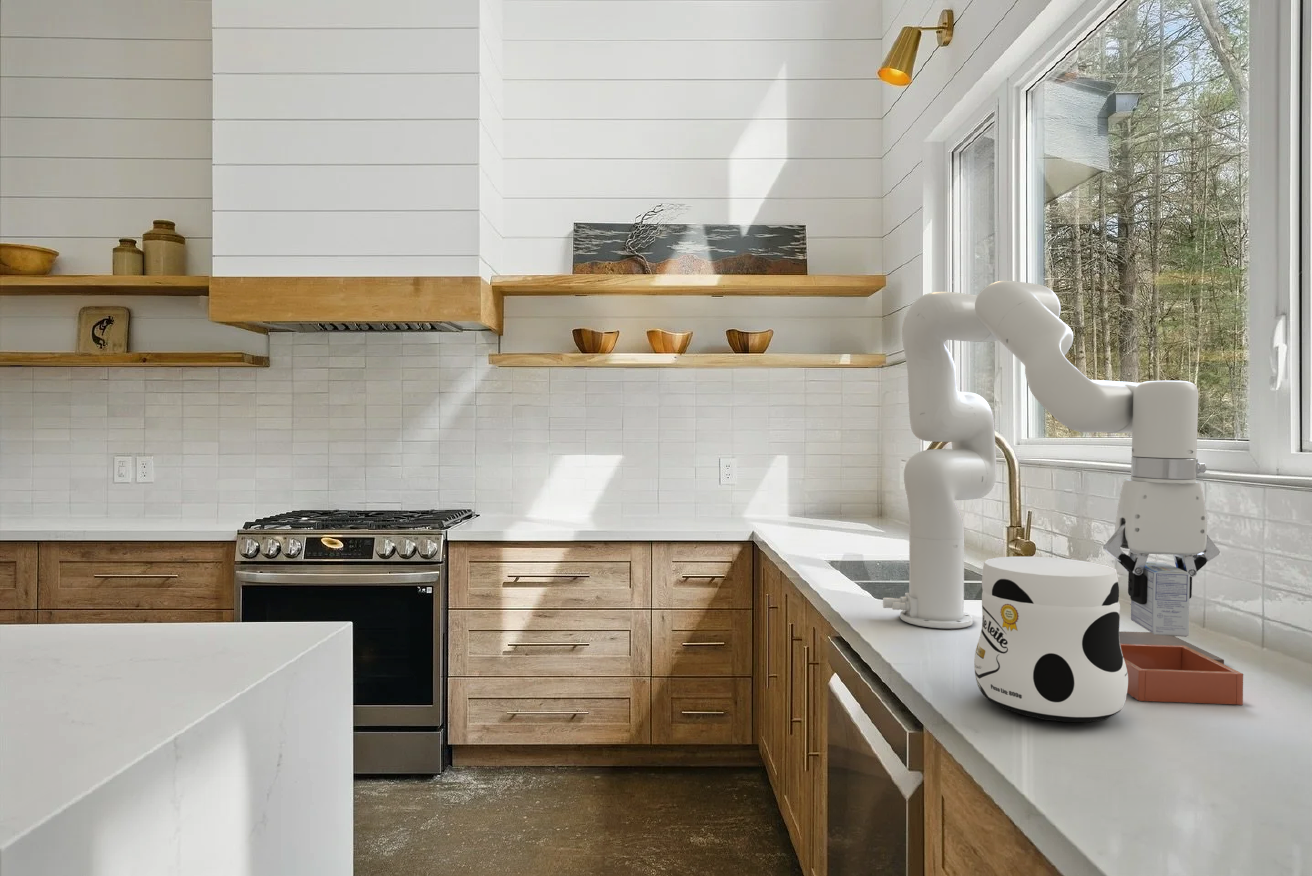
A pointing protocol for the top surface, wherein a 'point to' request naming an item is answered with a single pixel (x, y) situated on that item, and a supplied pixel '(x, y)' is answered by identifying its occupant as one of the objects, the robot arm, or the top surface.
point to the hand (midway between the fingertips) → (1159, 601)
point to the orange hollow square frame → (1179, 675)
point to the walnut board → (1160, 641)
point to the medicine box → (1164, 601)
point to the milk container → (1051, 638)
